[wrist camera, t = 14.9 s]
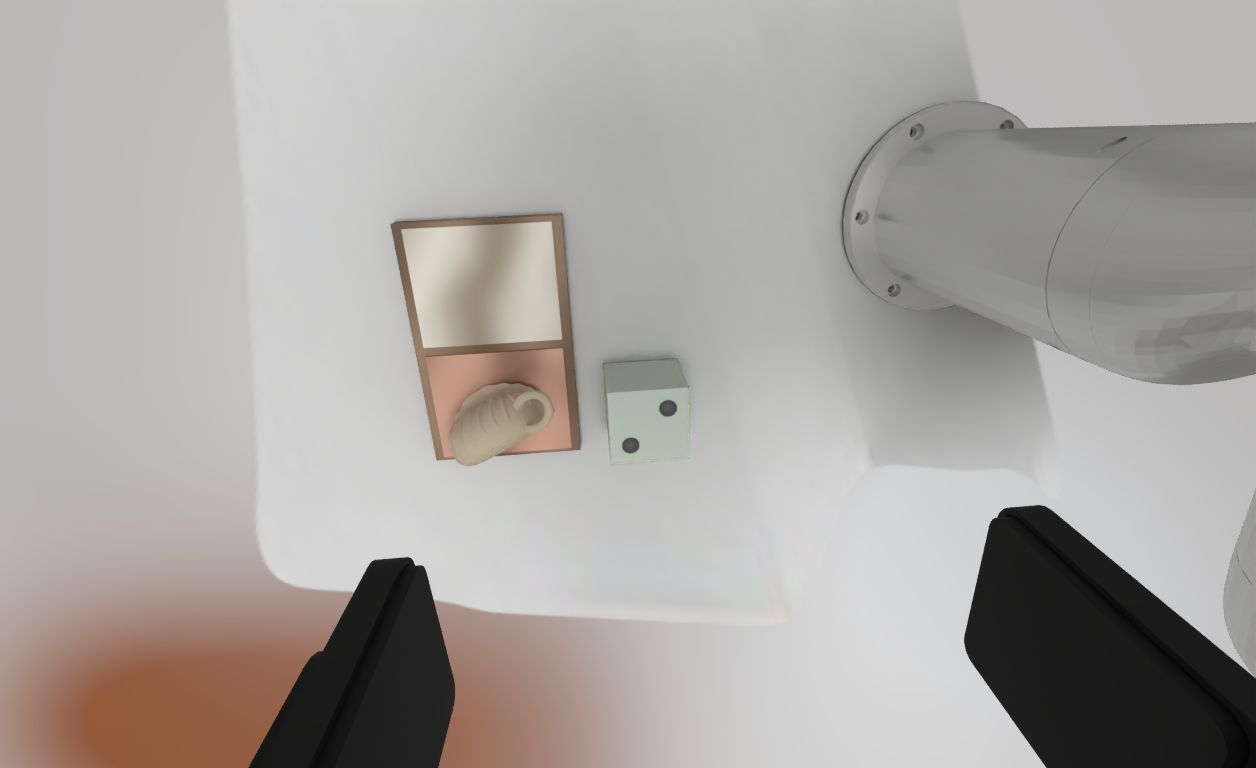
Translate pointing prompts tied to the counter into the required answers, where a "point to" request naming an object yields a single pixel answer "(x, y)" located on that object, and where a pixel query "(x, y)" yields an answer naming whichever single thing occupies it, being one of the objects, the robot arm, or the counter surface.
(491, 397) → the decorative ornament
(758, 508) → the counter surface
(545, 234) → the brown framed panel
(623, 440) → the die
